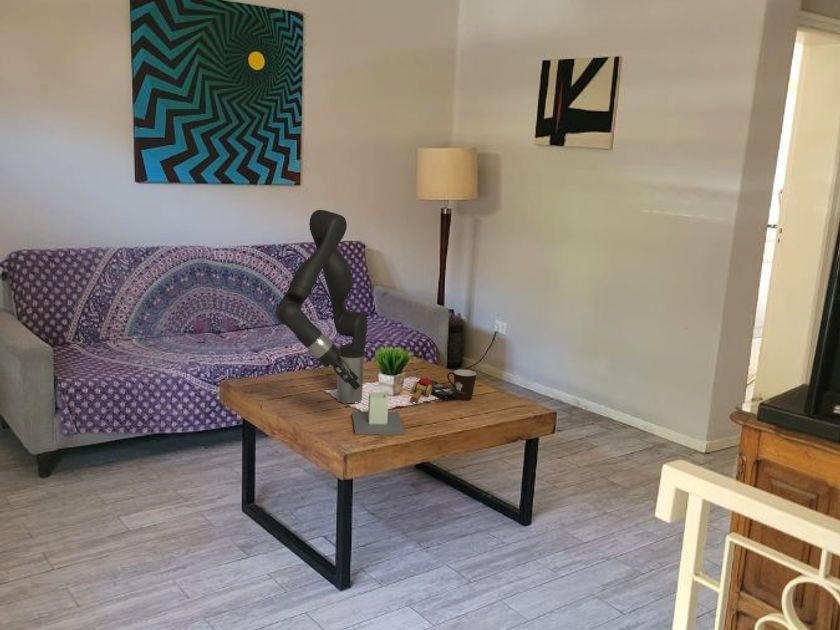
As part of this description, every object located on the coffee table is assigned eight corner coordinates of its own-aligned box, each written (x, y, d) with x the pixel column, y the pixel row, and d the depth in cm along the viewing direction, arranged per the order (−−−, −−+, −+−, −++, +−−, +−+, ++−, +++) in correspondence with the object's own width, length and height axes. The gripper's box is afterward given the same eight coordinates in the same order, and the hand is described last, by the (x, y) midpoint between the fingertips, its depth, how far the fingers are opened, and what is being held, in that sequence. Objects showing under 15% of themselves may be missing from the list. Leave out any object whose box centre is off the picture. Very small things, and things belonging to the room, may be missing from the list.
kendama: (426, 408, 293) (437, 389, 309) (423, 393, 291) (435, 373, 307) (405, 409, 295) (418, 389, 312) (403, 393, 293) (416, 374, 310)
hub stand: (352, 415, 276) (353, 390, 274) (397, 416, 279) (399, 391, 277) (355, 434, 259) (356, 407, 257) (404, 434, 261) (405, 408, 259)
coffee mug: (478, 400, 302) (480, 375, 300) (458, 402, 298) (460, 376, 296) (463, 391, 312) (465, 366, 310) (444, 393, 308) (445, 368, 306)
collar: (367, 417, 271) (369, 392, 269) (385, 418, 272) (386, 392, 270) (369, 423, 265) (370, 398, 263) (387, 424, 266) (388, 398, 264)
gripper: (332, 347, 253) (367, 382, 258) (331, 336, 267) (364, 370, 271) (315, 363, 254) (350, 398, 258) (314, 351, 267) (347, 385, 272)
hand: (357, 383), depth 265 cm, fingers open, 8 cm apart
